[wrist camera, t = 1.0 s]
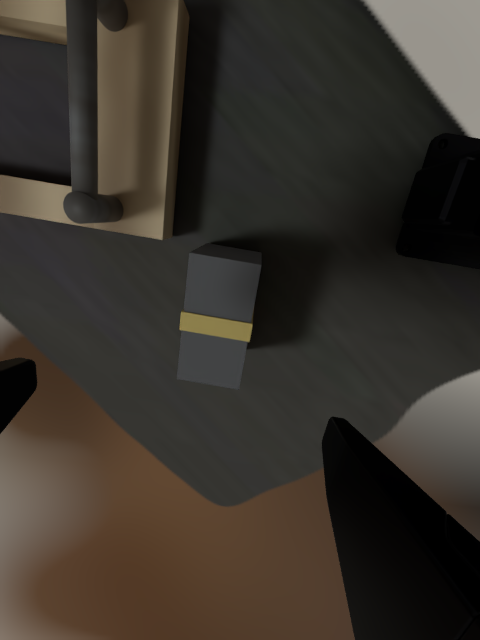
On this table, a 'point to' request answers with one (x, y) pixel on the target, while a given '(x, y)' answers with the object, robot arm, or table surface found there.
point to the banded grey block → (218, 314)
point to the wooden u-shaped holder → (110, 112)
